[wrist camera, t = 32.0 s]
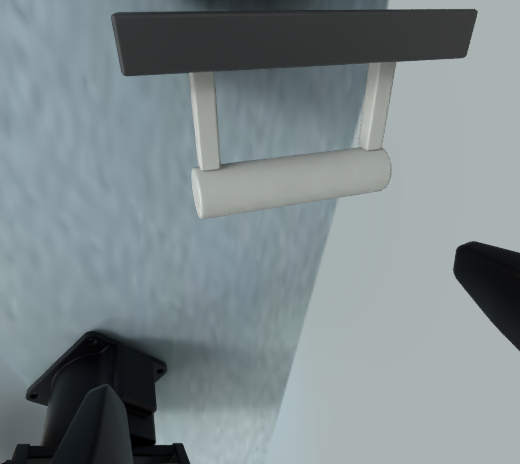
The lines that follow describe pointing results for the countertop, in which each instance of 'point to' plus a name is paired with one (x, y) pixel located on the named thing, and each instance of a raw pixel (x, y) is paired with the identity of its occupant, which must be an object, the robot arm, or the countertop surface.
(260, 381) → the countertop surface
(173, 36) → the dark grey drawer
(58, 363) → the robot arm
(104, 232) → the countertop surface
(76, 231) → the countertop surface
